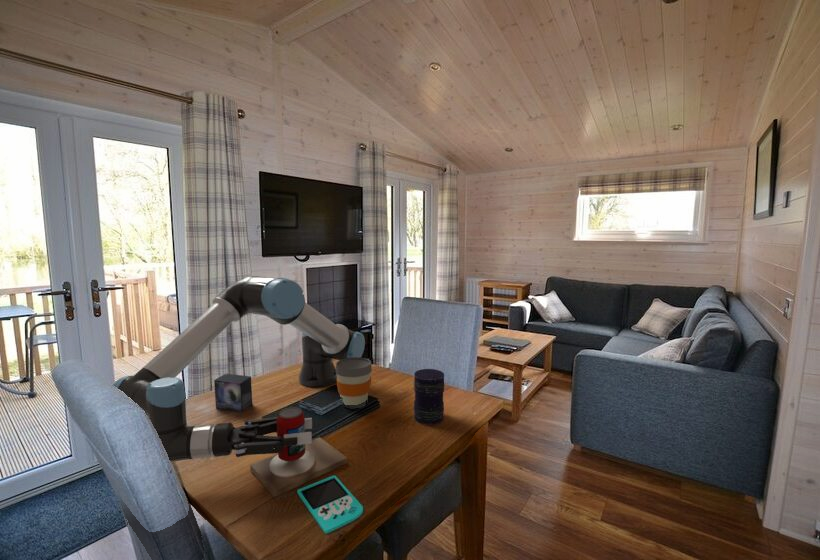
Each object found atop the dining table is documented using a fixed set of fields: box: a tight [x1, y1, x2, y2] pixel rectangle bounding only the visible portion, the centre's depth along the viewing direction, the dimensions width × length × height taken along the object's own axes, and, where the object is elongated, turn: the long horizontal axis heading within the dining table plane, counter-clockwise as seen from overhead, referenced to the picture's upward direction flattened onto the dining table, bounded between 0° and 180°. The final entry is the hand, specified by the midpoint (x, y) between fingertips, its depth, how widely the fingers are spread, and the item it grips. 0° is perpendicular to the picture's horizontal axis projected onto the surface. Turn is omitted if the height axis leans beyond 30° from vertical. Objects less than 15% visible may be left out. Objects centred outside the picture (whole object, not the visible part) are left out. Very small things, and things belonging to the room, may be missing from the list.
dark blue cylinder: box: [413, 368, 445, 426], centre depth 129 cm, size 10×10×15 cm
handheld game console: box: [297, 475, 364, 535], centre depth 90 cm, size 10×16×1 cm, turn 37°
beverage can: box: [276, 406, 306, 462], centre depth 101 cm, size 7×7×12 cm
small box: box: [213, 373, 253, 413], centre depth 137 cm, size 11×6×10 cm, turn 76°
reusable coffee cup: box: [335, 357, 373, 405], centre depth 139 cm, size 13×13×15 cm
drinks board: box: [250, 436, 348, 498], centre depth 103 cm, size 20×14×2 cm
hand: (311, 430), depth 102 cm, fingers closed on beverage can, 7 cm apart
